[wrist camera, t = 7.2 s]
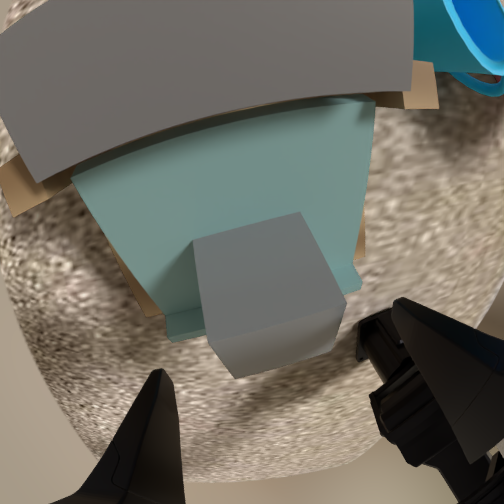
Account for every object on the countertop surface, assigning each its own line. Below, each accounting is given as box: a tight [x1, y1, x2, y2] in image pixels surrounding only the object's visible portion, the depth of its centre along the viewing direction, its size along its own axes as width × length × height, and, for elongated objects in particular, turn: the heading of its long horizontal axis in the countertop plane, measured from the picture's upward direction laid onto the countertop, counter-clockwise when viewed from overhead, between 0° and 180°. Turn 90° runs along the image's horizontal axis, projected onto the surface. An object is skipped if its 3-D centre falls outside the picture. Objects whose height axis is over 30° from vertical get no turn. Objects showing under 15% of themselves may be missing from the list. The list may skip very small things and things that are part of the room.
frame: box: [0, 60, 439, 317], centre depth 13 cm, size 18×18×9 cm
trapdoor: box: [0, 0, 414, 343], centre depth 11 cm, size 17×12×5 cm
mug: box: [413, 0, 504, 97], centre depth 11 cm, size 12×8×8 cm
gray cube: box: [193, 212, 347, 379], centre depth 13 cm, size 5×5×5 cm
